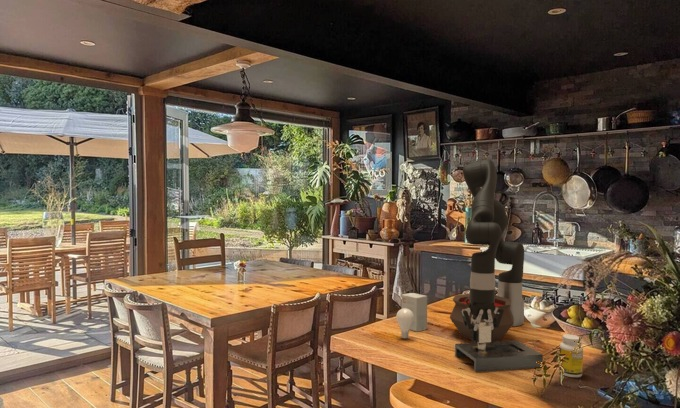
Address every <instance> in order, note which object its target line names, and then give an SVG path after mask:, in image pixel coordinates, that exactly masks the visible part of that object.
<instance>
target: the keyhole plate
mask: <svg viewBox="0 0 680 408" xmlns="http://www.w3.org/2000/svg"><path fill="white" fill-rule="evenodd" d="M543 356H544V355H543V353H541V352H539V351H538V350H536V349H533V348H532V347H530V346H528V345H526V344H524V343H522V342H521V341H519V340H517V339H514V340H500V341H494V342H486V351H484V352H478V342H477V343H475V342H462V343H454V357H456V358H461V357H463V358H465V357H468V358H470V359H471V360H472V361H473V362H474V363H473V364H474V365H473V372H475V373H485V372H499V371H512V370H515V371H516V370H524V369H525V370H527V369H536V368H535V367H540V366H541V365H540V364H538V363H536V361H539V362H544V360H543V359H544V357H543Z"/></svg>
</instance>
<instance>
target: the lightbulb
mask: <svg viewBox="0 0 680 408" xmlns="http://www.w3.org/2000/svg"><path fill="white" fill-rule="evenodd" d="M395 319H396V322H397V323H398V325H399V327H400V328H399V329H400V337H401V338H402V339H404V340H406V339H409V336H410V335H409V333H410V332H409V331H410V330H409V329H410V326H411V324H412V323H413V320H414V315H413V313H412V311H411V310H409V309H407V308H403V309H402V308H401V309H399V310H398V311H397V313H396V317H395Z"/></svg>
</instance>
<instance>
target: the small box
mask: <svg viewBox="0 0 680 408" xmlns="http://www.w3.org/2000/svg"><path fill="white" fill-rule="evenodd" d="M403 308H407V309H409V310H411V311H412V313H413V315H414V320H413V323H412V324H411V326H410V329H409V331H413V332H421V331H424V330H427V329H428V295H424V294H420V293H414V292H409V293H403V294H401V309H403Z"/></svg>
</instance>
